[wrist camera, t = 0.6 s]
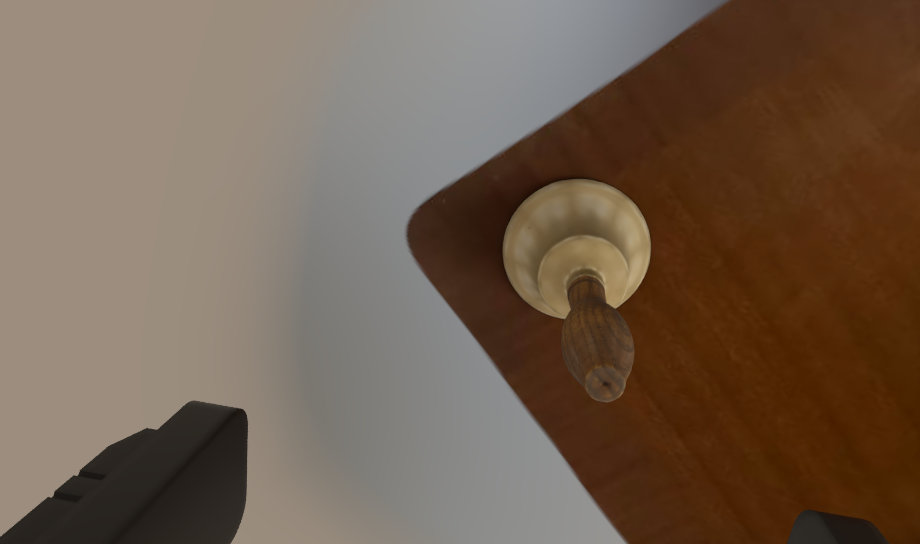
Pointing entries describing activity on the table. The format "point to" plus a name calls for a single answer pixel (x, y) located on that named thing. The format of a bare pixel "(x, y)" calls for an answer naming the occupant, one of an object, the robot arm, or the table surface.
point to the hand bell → (582, 273)
